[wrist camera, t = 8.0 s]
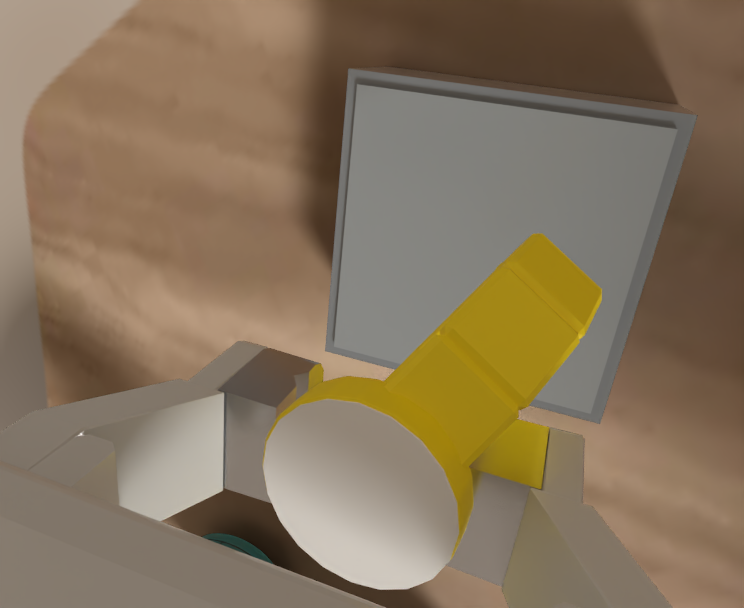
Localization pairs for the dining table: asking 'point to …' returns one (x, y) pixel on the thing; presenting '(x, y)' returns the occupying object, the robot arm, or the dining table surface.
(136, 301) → the dining table surface
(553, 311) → the yellow ring-shaped piece
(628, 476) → the dining table surface
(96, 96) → the dining table surface
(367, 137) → the base
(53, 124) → the dining table surface
